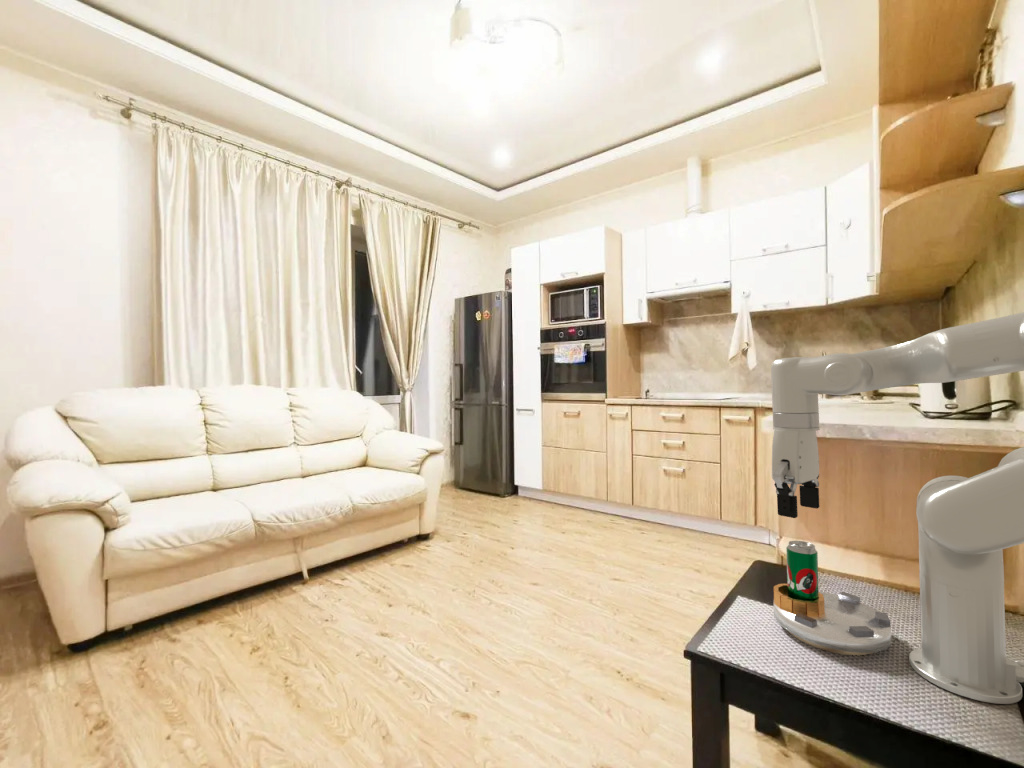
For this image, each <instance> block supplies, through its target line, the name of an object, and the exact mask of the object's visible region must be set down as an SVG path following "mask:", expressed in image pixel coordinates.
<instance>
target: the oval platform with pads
mask: <svg viewBox="0 0 1024 768" xmlns="http://www.w3.org/2000/svg"><path fill="white" fill-rule="evenodd" d="M818 592H819V599H817V600H815V601H802V600H797V599H792V598H790V597H788V590H787V583H778V584H775V585H773V616H774V619H775V620H776V622H777V623H778V624H779V625H780V626H781V627H782V628H783V629H785V630H786V631H787V630H788V631H789V632H791V633H792V634H794V635H796V636H798V637H800V638H802V639H805V640H807V641H809V642H812V643H815V644H818V645H821V646H824V647H828V648H832V649H836V650H842V651H848V652H858V653H870V652H876V653H877V652H881V651H882V652H883V651H884V650H887V649H888V648H889V647H890V646H891V644H892V627H891V620H890V618H889V616H888V614H887V612H881V611H878V610H877V609H875V608H873V607H871V606H869V605H868V604H865V603H862V602H861V597H860V596H857V595H854V594H851V593H847V592H845V591H841V592H839V593H838V594H835V593H830V592H826V591H824V592H823V591H820V590H818ZM788 631H787V632H788ZM789 632H788V633H789Z"/></svg>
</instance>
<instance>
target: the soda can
mask: <svg viewBox="0 0 1024 768" xmlns="http://www.w3.org/2000/svg"><path fill="white" fill-rule="evenodd" d="M785 550H786V579H787V580H786V582H787V583H786V584H787V590H788V597H790V598H792V599H797V600H802V601H815V600H817V599H819V592H818V591H819V563H818V562H819V560H818V559H819V557H818V550H817V549H816V546H815V544H813V543H810V542H808V541H802V540H790V541H788V544H787V546H786V549H785Z"/></svg>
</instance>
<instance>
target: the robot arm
mask: <svg viewBox="0 0 1024 768" xmlns="http://www.w3.org/2000/svg"><path fill="white" fill-rule="evenodd" d="M1017 372H1024V312H1018V313H1015V314H1010V315H1005V316H1001V317H996V318H991V319H986V320H981V321H977V322H972V323H966V324H961V325H955V326H950V327H947V328H946V327H945V328H942V329H939V330H938V329H937V330H936V331H932V332H929V333H927V334H924V335H922V336H920V337H919V336H918V337H917V338H914V339H912V340H909V341H905V342H903V343H898V344H894V345H889V346H885V347H881V348H875V349H872V350H867V351H861V352H856V353H845V352H836V353H831V354H825V355H819V356H813V357H808V356H807V357H805V356H804V357H803V356H797V357H781V358H778V359H775V360H774V361H772V362H771V366H770V378H771V379H770V381H771V402H772V427H773V437H772V443H771V444H772V446H771V478H772V480H773V481H774V484H773V485H774V487H775V493H776V503H777V505H776V506H777V514H778V515H779V516H781V517H786V518H791V519H792V518H793V519H796V518H798V516H799V515H798V496H797V495H795V494H796V490H797V487H798V485H799V504H800V506H801V507H805V508H811V509H817V510H818V509H819V508H820V490H819V489H820V488H819V487H820V481H819V477H820V456H819V454H820V453H819V445H818V436H817V432H818V431H820V411H819V410H820V408H819V394H822V395H830V396H831V395H832V396H849V395H853V394H860V393H864V392H865V393H866V392H871V391H879V390H884V389H889V388H891V389H892V388H898V387H905V386H912V385H919V384H921V385H922V384H943V383H951V382H959V381H965V380H972V379H977V378H978V379H979V378H985V377H992V376H998V375H1006V374H1012V373H1017ZM789 485H790V486H789ZM915 512H916V514H915V515H916V520H917V523H918V524H917V525H918V526H917V527H918V529H917V530H918V562H919V563H918V564H919V565H918V566H919V575H918V576H919V602H920V603H919V604H920V605H919V607H920V608H919V609H920V610H919V611H920V636H921V637H920V638H921V639H920V641H921V643H920V644H921V647H919V648H915V649H913V650H912V651H910V653H909V659H908V661H909V665H910V666H911V668H912V669H913V670H914V671H915V673H917V674H918V675H919V676H921V677H922V678H924V679H925V680H926V681H928V682H930V683H931V684H934V685H935V686H938V687H939V688H941V689H943V690H946V691H948V692H951V693H953V694H955V695H959V696H961V697H965V698H968V699H971V700H974V701H980V702H984V703H988V704H989V703H991V704H998V705H999V704H1000V705H1010V704H1015V703H1018V702H1020V701H1021V700H1022V699H1023V687H1022V684H1020V683H1024V660H1019V659H1010V658H1008V657H1007V649H1006V647H1007V646H1006V620H1005V619H1006V614H1005V613H1006V611H1005V610H1006V609H1005V570H1004V569H1005V568H1004V550H1005V549H1008V548H1012V547H1015V546H1019V545H1022V544H1024V446H1022V447H1020V448H1017V449H1013V450H1012V451H1010V452H1009V453H1007V454H1006V455H1005V456H1003V457H1002V458H1001V460H1000V461H999V463H998V465H997V466H996V467H993V468H991V469H988V470H986V471H984V472H981V473H979V474H975V475H974V476H971V477H966V476H960V475H942V476H939V477H935V478H933V479H931V480H929V481H928V482H926V483H925V484H924V485H923V486H922V487H921V488H920V490H919V491H918V494H917V498H916V509H915Z"/></svg>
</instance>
